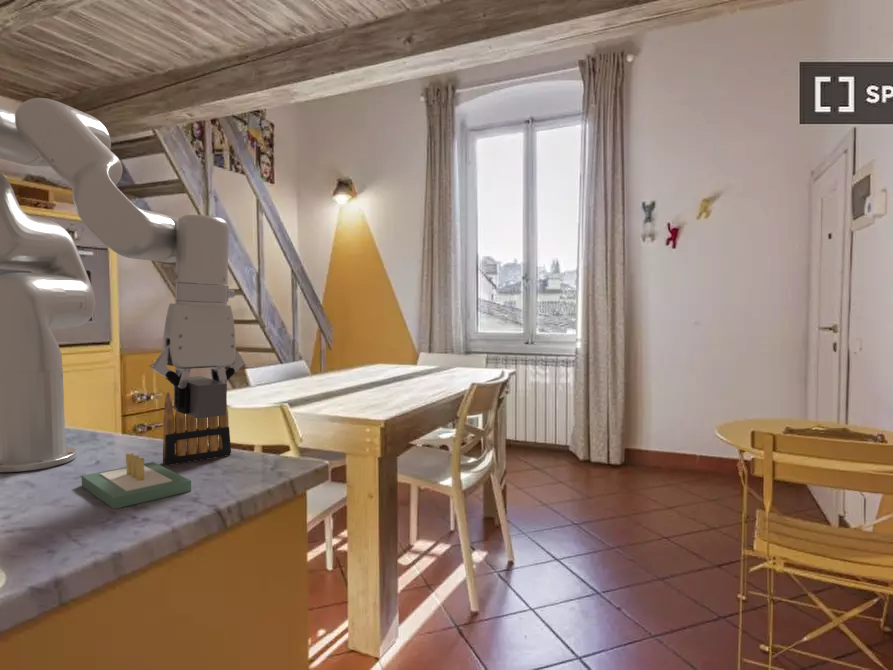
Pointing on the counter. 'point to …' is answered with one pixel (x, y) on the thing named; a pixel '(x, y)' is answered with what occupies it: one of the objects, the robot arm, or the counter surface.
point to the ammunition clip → (193, 436)
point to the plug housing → (206, 397)
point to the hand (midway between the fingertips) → (199, 409)
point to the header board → (135, 483)
